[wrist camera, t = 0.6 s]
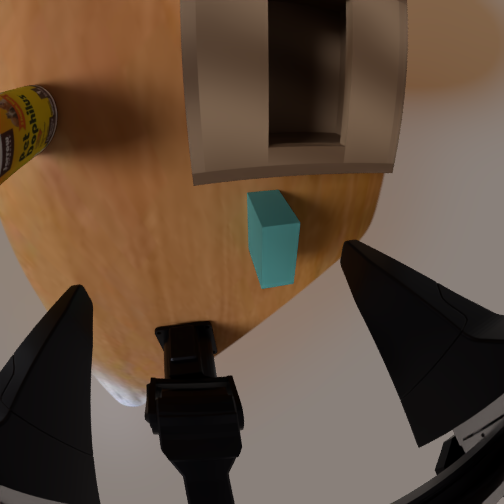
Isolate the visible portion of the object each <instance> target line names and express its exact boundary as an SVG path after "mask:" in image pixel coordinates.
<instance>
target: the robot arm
mask: <svg viewBox="0 0 504 504" xmlns="http://www.w3.org/2000/svg"><path fill="white" fill-rule="evenodd" d="M340 263H341V267H342V270H343V272H344V275H345V277H346V280H347V282H348V285H349V287H350V289H351V292H352V295H353V298H354V300H355V302H356V304H357V307H358V309H359V310H360V313H361V315H362V317H363V319H364V321H365V323H366V325H367V327H368V329H369V331H370V333H371V335H372V337H373V339H374V341H375V343H376V345H377V348H378V350H379V352H380V354H381V356H382V358H383V361H384V363H385V365H386V367H387V370H388V372H389V374H390V377H391V379H392V381H393V384H394V386H395V388H396V391H397V393H398V396H399V398H400V400H401V403H402V406H403V408H404V411H405V413H406V416H407V418H408V421H409V424H410V426H411V429H412V432H413V434H414V437H415V440H416V443H417V445H418V447H422V446H424V445H426V444H427V443H430V442H431V441H433V440H435V439H437V438H439V437H440V436H442V435H444V434H446V433H448V432H449V431H451V430H453V432H454V435H453V436H452V437H450V438H449V439H448V440H447V441H445V442H444V443H443V446H442V450H441V453H440V456H439V459H438V462H437V465H436V468H435V471H436V474H437V476H435V477H434V478H432V479H431V480H430V481H428V482H427V483H425V484H423V485H422V486H420V487H419V488H417V489H416V490H414V491H412V492H411V493H409V494H408V495H405V496H404V497H402V498H400V499H398V500H397V501H395V502H393V503H391V504H496V503H497V502H498V501H499V500H500V499H501V498H502V497H504V315H499V314H496V313H494V312H491V311H490V310H488V309H486V308H484V307H482V306H480V305H478V304H476V303H474V302H472V301H470V300H468V299H466V298H464V297H462V296H461V295H459V294H457V293H455V292H453V291H451V290H450V289H448V288H446V287H444V286H442V285H441V284H439V283H436V282H435V281H433V280H432V279H430V278H428V277H426V276H425V275H423V274H421V273H419V272H417V271H415V270H414V269H412V268H410V267H408V266H406V265H404V264H402V263H401V262H399V261H397V260H395V259H393V258H391V257H389V256H387V255H385V254H383V253H382V252H379V251H378V250H376V249H373V248H371V247H370V246H367V245H366V244H364V243H362V242H360V241H358V240H349V241H345V242H344V245H343V249H342V254H341V260H340ZM155 335H156V337H157V339H158V341H159V343H160V345H161V347H162V349H163V351H164V372H165V379H160V378H151V382H150V383H149V384H147V400H146V408H145V420H146V421H147V422H148V423H150V426H151V428H152V431H153V434H158V435H159V438H160V445H161V450H162V452H163V453H164V454H165V455H166V457H167V458H168V460H169V461H170V462H171V463H172V464H173V465H174V466H175V468H176V469H177V470H178V471H179V472H180V473H181V475H182V476H183V479H184V484H185V490H186V495H187V500H188V504H234V498H233V494H232V489H231V484H230V479H229V471H230V469H231V467H232V465H233V463H234V461H235V459H236V457H238V456H239V454H240V452H241V449H242V443H241V436H240V430H243V428H244V416H243V409H242V405H241V402H240V399H239V395H238V392H237V390H236V386H235V383H234V380H233V377H232V376H227V377H217V375H216V369H215V363H214V356H213V354H216V353H217V347H216V343H215V339H214V334H213V330H212V325H211V323H210V322H200V323H193V324H185V325H177V326H169V327H160V328H156V329H155ZM92 349H93V304H92V301H91V299H90V297H89V295H88V294H87V292H86V290H85V288H84V287H83V286H82V285H80V284H79V285H73V286H71V287H70V288H69V289H68V290H67V291H66V292H65V293H64V294H63V295H62V296H61V297H60V298H59V300H58V301H57V302H56V303H55V304H54V305H53V306H52V307H51V308H50V310H49V311H48V312H47V313H46V314H45V315H44V317H43V318H42V319H41V320H40V321H39V323H38V324H37V325H36V326H35V327H34V328H33V330H32V331H31V332H30V333H29V335H28V336H27V337H26V338H25V340H24V341H23V342H22V343H21V345H20V346H19V347H18V349H17V350H16V351H15V353H14V355H13V356H12V357H11V358H10V359H9V361H8V362H7V363H6V365H5V366H4V367H3V369H2V370H1V372H0V504H100V499H99V493H98V488H97V481H96V474H95V467H94V457H93V449H92V435H91V408H90V407H91V405H90V396H91V395H90V392H91V389H90V388H91V365H92Z"/></svg>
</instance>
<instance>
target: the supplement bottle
mask: <svg viewBox="0 0 504 504" xmlns="http://www.w3.org/2000/svg"><path fill="white" fill-rule="evenodd" d="M56 125H57V109H56V105H55V102H54V99H53V97H52V96H51V94H50V93H49V92H48V91H47V90H46V89H44V88H42V87H40V86H36V85H29V86H24V87H20V88H16V89H12V90H9V91H5V92H2V93H0V185H1V184H2V183H3V182H4V181H5V180H7V179H8V178H9V177H10V176H11V175H12V174H14V173H15V172H16V171H17V170H18V169H20V168H21V167H22V166H23V165H25V164H26V163H27V162H28V161H30V160H31V159H32V158H34V157H35V156H36V155H38V154H39V153H40V152H42V151H43V150H44V149H45V148H46V147H47V145H48V144H49V143H50V141H51V139H52V137H53V135H54V132H55V129H56Z"/></svg>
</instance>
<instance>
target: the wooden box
mask: <svg viewBox="0 0 504 504" xmlns="http://www.w3.org/2000/svg"><path fill="white" fill-rule="evenodd" d="M180 17H181V47H182V66H183V82H184V96H185V108H186V120H187V130H188V140H189V150H190V159H191V168H192V176H193V184H194V186H196V185H203V184H211V183H219V182H228V181H237V180H247V179H257V178H269V177H282V176H297V175H315V174H340V173H392V172H393V167H394V162H395V157H396V151H397V146H398V139H399V134H400V126H401V120H402V113H403V104H404V95H405V85H406V71H407V70H406V69H407V51H408V14H407V0H180Z"/></svg>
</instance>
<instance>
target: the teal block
mask: <svg viewBox="0 0 504 504" xmlns="http://www.w3.org/2000/svg"><path fill="white" fill-rule="evenodd" d="M247 205H248V242H249V251H250V255H251V258H252V261H253V264H254V267H255V270H256V273H257V276H258V279H259V282H260V285H261V288H262V289H265V288H270V287H276V286H282V285H288V284H293V283H294V275H295V267H296V258H297V249H298V240H299V231H300V221H299V220H298V218H297V217H296V215H295V214H294V212H293V211H292V209H291V208H290V206H289V205H288V203H287V202H286V200H285V199H284V197H283V196H282V194H281V193H280V191H279V190H270V191H259V192H250V193H247Z"/></svg>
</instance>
